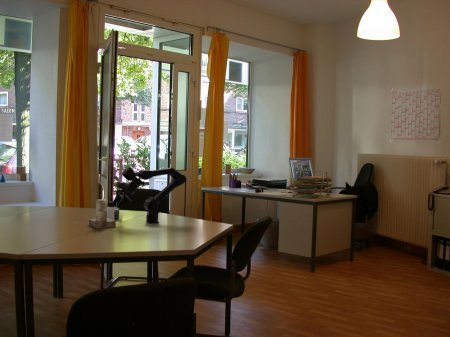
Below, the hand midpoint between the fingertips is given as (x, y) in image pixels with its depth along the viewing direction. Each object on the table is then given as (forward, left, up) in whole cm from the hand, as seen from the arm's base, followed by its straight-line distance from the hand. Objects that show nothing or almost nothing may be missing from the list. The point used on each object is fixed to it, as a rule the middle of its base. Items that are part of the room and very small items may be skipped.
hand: (115, 205), depth 285 cm
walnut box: (+8, 0, -12) cm, 15 cm away
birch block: (+8, 0, -8) cm, 12 cm away
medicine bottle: (-4, -18, -12) cm, 22 cm away
